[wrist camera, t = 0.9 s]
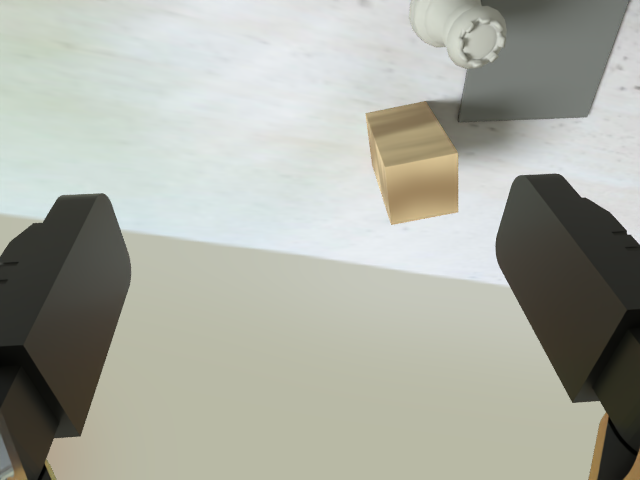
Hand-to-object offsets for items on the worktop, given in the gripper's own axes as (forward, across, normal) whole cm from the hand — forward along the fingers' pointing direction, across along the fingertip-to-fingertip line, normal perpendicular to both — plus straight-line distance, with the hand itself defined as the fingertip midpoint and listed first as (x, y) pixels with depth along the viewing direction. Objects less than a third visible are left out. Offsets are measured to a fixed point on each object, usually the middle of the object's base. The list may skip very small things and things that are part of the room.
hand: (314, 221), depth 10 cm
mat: (+26, -18, +2) cm, 31 cm away
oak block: (+25, -8, +11) cm, 29 cm away
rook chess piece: (+26, -10, +2) cm, 28 cm away
